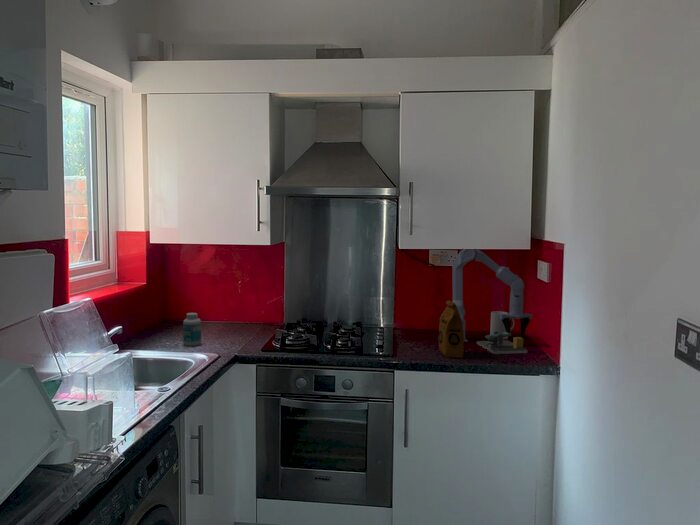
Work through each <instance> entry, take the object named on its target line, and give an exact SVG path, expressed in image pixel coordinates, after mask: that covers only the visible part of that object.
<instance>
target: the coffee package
mask: <svg viewBox="0 0 700 525" xmlns="http://www.w3.org/2000/svg"><path fill="white" fill-rule="evenodd" d="M445 304H446V305H447V306H446V307H445V309H444V310H443V312H441V315H440V317H439V327H438V337H437V340H438V350H439V351H440V353H442V355H443V356H445V358H447V359H448V358H451V359H455V358H456V359H458V358H460V359H463V358H464V346H465V345H464V344H465V343H464V331H463V326H462V320H461V317H460V315H459V312H458V309H457V306H456V304H455V303H454V302H453V300H449V299H448V300H446V301H445Z"/></svg>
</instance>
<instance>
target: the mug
mask: <svg viewBox="0 0 700 525" xmlns="http://www.w3.org/2000/svg"><path fill="white" fill-rule="evenodd" d="M500 314H509V312H506V311H501V310H499V311H498V310H497V311H496V310H495V311H491V313H490V326H489V328H490V331H489V335H492V334H494V332H496V331H498V333H503V332H506V330H505V326H504V324H503V322H502V319H500ZM511 321H512V326H511V327H510V331H512V330H513V329H514V327H515V319H511ZM498 340H499V338H498ZM503 340H509V336H507V337H503Z"/></svg>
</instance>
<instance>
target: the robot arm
mask: <svg viewBox="0 0 700 525" xmlns="http://www.w3.org/2000/svg"><path fill="white" fill-rule="evenodd" d="M462 249H463V250H462ZM462 249H461V250H460V251H459V253H458V254H457V255H456V257H455V258H454V260H453V262H452V264H451V265H452V271H451V272H452V273H451V274H452V302H454V303H455V304H456V306H457V309H458V312H459V315H460V317H461V320H462V326H463V331H464V342H469V340H468V339H466V319H465V315H466V309H465V307H464V300H463V299H464V296H463V295H464V294H463V293H464V290H463V288H464V287H463V286H464V283H463V282H464V281H463V276H464V275H463V272H464V270H463V268H464V266H465V265H467V263H470V262H471V261H475V262H481V263H483V264H484V265H486V266H487V267H488V268H489V269H490V270H492V271H494V272H495V277H496V278H498V279H499V280H500V281H502V282H503V283H504V284H505V285H506V286H510V287H509V288H510V293H509V312H508V313H509V314H500V319H502V322H503V324H504V326H505V330H506V332H507V333H511V330H510V328H511V327H512V326H511V325H512V323H513V320H512V319H514V320H515V319H517V320H518V319H519V321H520V322H519V323H520V335H523V336H524V335H525V333H526V329H527V327H528V325H529V324H530V322H531V319H533V314H532V313H525V312H523V311H524V290H525V289H524V288H525V284H524V283H525V282H524V281H523V279H522V278H521V277H520V276H519V275H518V274H515V273H513V272H512V271H511V270H510V268H509V267H508V266H500V265H499V264H497V263H496V261H494V260H493V259H491V258H490V257H489V256H488V255H486V254H485V253H484V252H483V251H481V250H479V249H478V248H475V249H464V248H462ZM474 259H475V260H474Z"/></svg>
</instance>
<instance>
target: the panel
mask: <svg viewBox="0 0 700 525" xmlns="http://www.w3.org/2000/svg"><path fill="white" fill-rule="evenodd" d="M497 333H498V331H496V332H494V334H497ZM476 345H478V346H480V347H481V346H482V347H481V348H484V349H485V350H486V349H487V351H488V352H490V353H492V354H493V355H501V354H502V355H505V354H507V355H508V354H528V350H527V348H526V347H523V348H513V341H510V340H509V339H503V334H499V339H498V338H497V342H495V343H493V342H489V340H477V341H476Z"/></svg>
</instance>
